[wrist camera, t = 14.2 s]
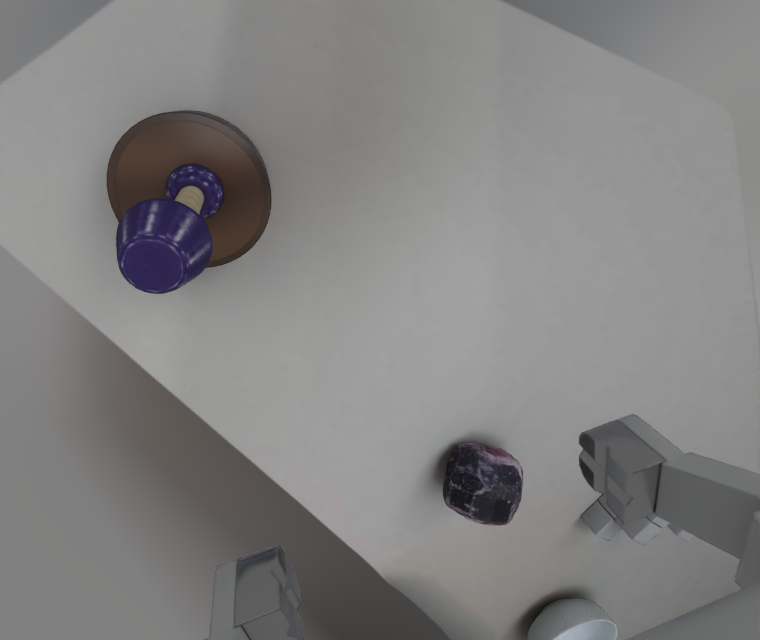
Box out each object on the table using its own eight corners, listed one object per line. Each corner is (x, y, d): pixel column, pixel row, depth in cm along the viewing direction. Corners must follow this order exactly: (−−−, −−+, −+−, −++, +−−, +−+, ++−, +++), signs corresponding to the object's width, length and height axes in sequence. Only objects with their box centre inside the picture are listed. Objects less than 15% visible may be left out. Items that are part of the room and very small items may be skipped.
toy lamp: (232, 220, 37) (218, 299, 22) (173, 230, 36) (118, 319, 21) (215, 159, 34) (188, 201, 20) (152, 168, 34) (75, 220, 19)
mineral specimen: (416, 480, 60) (468, 517, 51) (461, 418, 62) (518, 444, 54) (453, 515, 64) (507, 554, 56) (494, 455, 67) (550, 485, 59)
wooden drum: (95, 130, 36) (72, 135, 32) (241, 94, 38) (240, 93, 33) (161, 266, 42) (150, 286, 37) (286, 230, 43) (290, 245, 39)
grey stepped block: (580, 516, 76) (613, 557, 69) (631, 465, 73) (671, 504, 66) (617, 534, 81) (651, 575, 74) (666, 488, 78) (706, 526, 72)
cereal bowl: (521, 595, 82) (543, 636, 76) (600, 573, 85) (627, 610, 79) (511, 649, 89) (530, 689, 83) (584, 626, 93) (607, 663, 87)
